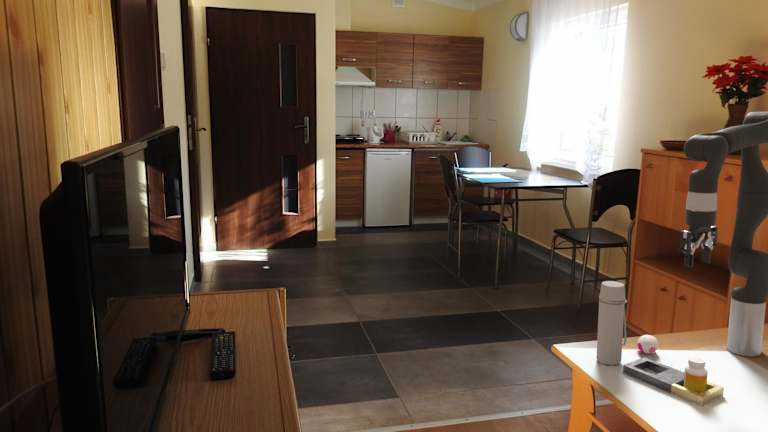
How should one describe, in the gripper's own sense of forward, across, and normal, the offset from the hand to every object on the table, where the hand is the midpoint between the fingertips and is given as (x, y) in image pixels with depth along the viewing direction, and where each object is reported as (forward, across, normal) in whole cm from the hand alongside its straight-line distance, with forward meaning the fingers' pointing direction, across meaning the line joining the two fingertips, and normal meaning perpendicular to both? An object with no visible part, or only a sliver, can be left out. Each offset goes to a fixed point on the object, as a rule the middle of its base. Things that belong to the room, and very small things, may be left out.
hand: (697, 264), depth 158 cm
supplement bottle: (+33, +10, +8) cm, 36 cm away
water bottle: (+33, +11, -18) cm, 39 cm away
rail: (+33, +10, 0) cm, 35 cm away
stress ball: (+33, -4, -17) cm, 37 cm away
